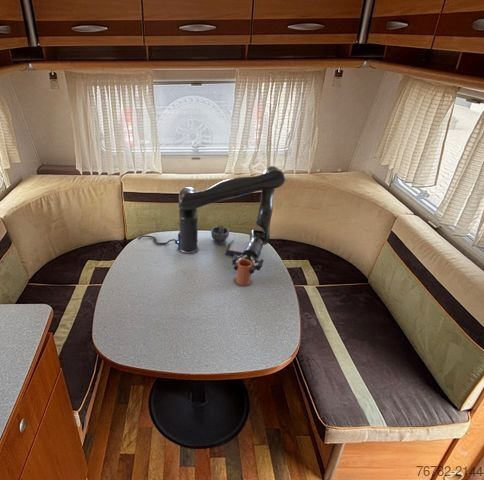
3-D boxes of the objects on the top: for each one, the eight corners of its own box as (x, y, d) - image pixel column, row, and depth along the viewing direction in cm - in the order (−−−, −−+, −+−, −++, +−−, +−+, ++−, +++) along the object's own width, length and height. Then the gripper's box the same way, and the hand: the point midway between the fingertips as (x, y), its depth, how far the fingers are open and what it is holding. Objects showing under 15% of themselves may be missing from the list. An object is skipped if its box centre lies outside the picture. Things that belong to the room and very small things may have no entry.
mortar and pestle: (210, 237, 198) (211, 217, 192) (227, 237, 199) (228, 217, 193) (211, 247, 189) (212, 227, 183) (229, 247, 189) (230, 227, 183)
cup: (234, 283, 161) (235, 265, 156) (238, 276, 166) (239, 258, 161) (248, 286, 159) (250, 268, 154) (251, 279, 164) (253, 260, 159)
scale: (226, 254, 182) (226, 249, 181) (232, 243, 192) (232, 239, 191) (248, 259, 179) (249, 254, 177) (254, 248, 188) (255, 243, 187)
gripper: (238, 242, 171) (227, 260, 157) (267, 248, 166) (260, 266, 153) (236, 255, 175) (227, 273, 161) (266, 261, 170) (258, 281, 157)
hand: (243, 270), depth 157 cm, fingers closed on cup, 6 cm apart
